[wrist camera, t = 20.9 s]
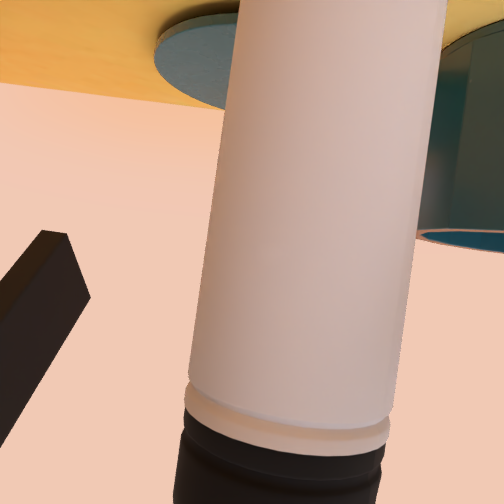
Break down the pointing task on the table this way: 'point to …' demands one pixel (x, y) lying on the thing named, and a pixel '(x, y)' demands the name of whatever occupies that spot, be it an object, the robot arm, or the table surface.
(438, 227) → the pot
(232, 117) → the travel mug
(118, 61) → the table surface
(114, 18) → the table surface
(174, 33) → the lid
